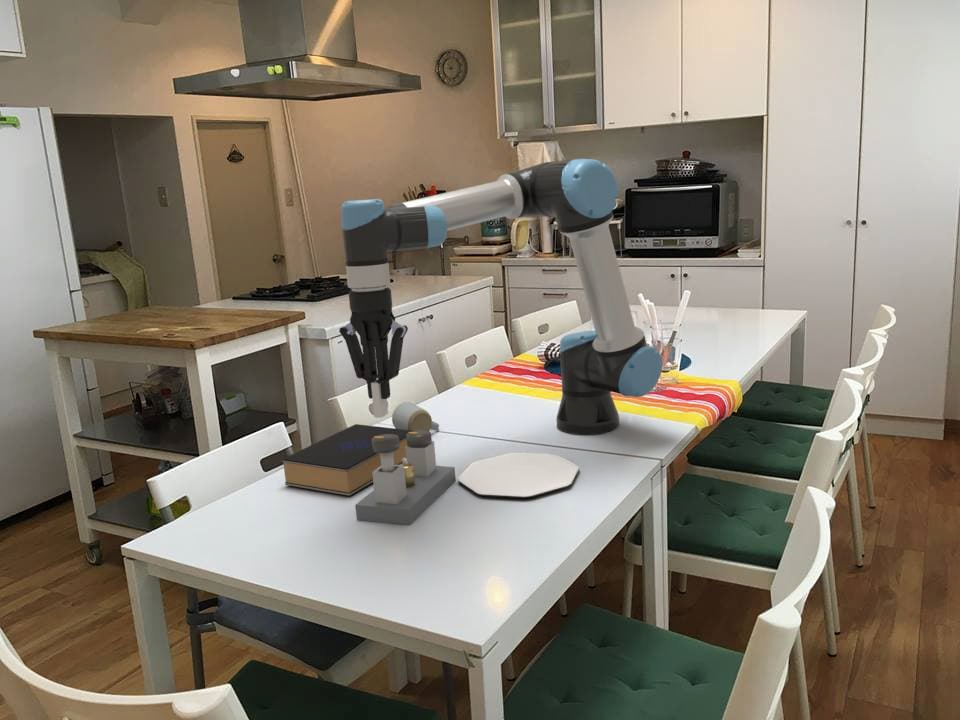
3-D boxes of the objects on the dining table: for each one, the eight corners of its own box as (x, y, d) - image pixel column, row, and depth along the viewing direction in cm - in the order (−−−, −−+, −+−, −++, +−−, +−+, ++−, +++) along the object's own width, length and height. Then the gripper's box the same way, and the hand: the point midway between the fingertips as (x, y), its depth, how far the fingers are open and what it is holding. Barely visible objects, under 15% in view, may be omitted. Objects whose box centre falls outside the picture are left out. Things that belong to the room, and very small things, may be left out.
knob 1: (407, 474, 153) (402, 433, 151) (395, 484, 149) (390, 442, 147) (383, 473, 155) (379, 432, 153) (371, 482, 150) (366, 440, 149)
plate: (496, 512, 151) (495, 505, 151) (443, 475, 172) (442, 469, 172) (599, 483, 162) (599, 476, 161) (537, 452, 182) (537, 445, 182)
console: (455, 480, 168) (452, 439, 166) (409, 524, 148) (405, 478, 146) (407, 477, 172) (403, 436, 170) (356, 519, 152) (351, 474, 150)
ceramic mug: (410, 441, 195) (407, 411, 193) (392, 434, 201) (390, 404, 199) (446, 432, 201) (444, 402, 199) (428, 425, 207) (426, 396, 206)
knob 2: (438, 467, 167) (434, 429, 165) (428, 476, 162) (424, 437, 160) (416, 466, 168) (412, 428, 167) (405, 474, 164) (402, 436, 162)
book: (285, 488, 171) (281, 459, 170) (358, 450, 192) (355, 423, 191) (350, 499, 163) (346, 468, 161) (419, 458, 184) (416, 430, 182)
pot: (417, 482, 160) (415, 456, 159) (410, 488, 157) (408, 461, 156) (403, 481, 161) (401, 455, 160) (397, 487, 158) (394, 460, 157)
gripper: (411, 284, 145) (421, 411, 150) (348, 285, 149) (360, 408, 155) (392, 290, 138) (404, 423, 143) (326, 291, 143) (340, 419, 148)
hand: (381, 415), depth 149 cm, fingers closed
